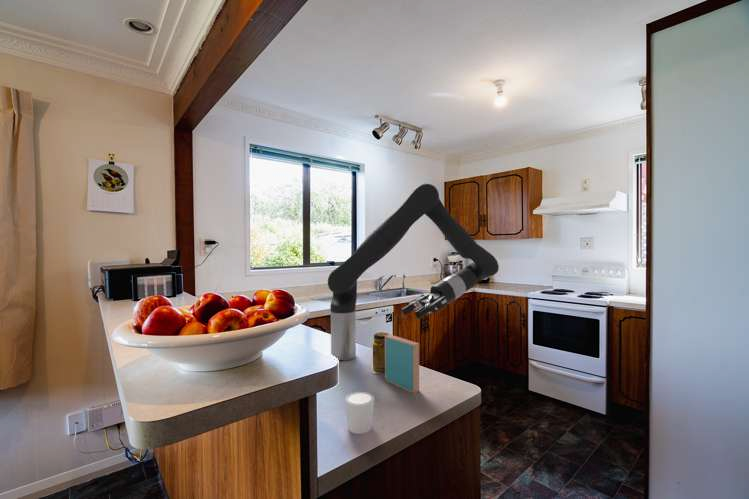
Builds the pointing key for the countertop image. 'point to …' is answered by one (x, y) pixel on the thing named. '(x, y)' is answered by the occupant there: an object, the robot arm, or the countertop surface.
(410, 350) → the tile
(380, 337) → the condiment
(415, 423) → the countertop surface
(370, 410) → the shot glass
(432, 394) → the countertop surface
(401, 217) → the robot arm
